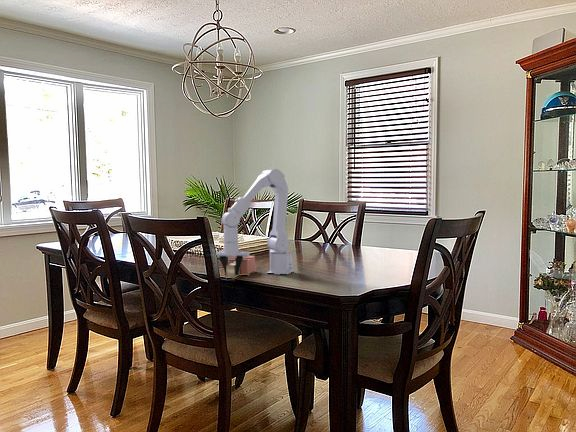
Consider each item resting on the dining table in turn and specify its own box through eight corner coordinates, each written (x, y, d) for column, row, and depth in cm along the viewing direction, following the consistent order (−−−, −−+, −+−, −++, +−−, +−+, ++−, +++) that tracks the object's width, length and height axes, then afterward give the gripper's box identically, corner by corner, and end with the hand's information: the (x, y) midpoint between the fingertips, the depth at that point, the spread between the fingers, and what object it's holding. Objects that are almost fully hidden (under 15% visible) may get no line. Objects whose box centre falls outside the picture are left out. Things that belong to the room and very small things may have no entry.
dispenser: (233, 270, 214) (233, 255, 213) (255, 271, 211) (254, 255, 211) (225, 275, 204) (224, 259, 203) (247, 276, 201) (247, 259, 201)
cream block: (236, 273, 208) (236, 260, 208) (244, 273, 207) (243, 260, 207) (226, 278, 196) (226, 265, 196) (234, 279, 196) (233, 265, 195)
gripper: (250, 240, 200) (251, 272, 201) (215, 240, 201) (216, 272, 202) (247, 242, 193) (248, 276, 194) (211, 242, 194) (212, 276, 195)
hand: (232, 274), depth 198 cm, fingers closed on cream block, 4 cm apart
